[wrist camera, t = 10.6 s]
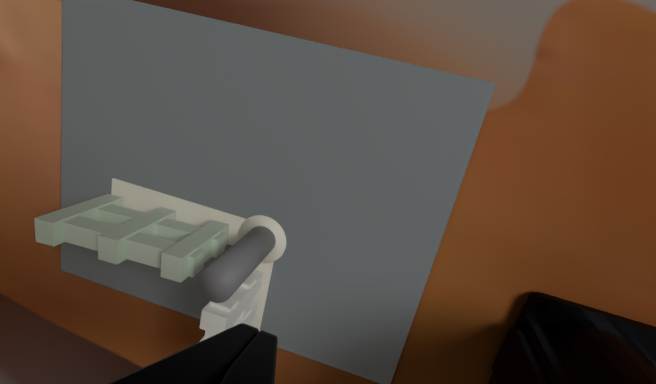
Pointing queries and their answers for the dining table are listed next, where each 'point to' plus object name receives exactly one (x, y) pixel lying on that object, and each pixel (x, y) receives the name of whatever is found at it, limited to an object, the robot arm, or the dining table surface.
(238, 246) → the fixed fence panel
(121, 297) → the dining table surface
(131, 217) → the hinged fence panel
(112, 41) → the mat
